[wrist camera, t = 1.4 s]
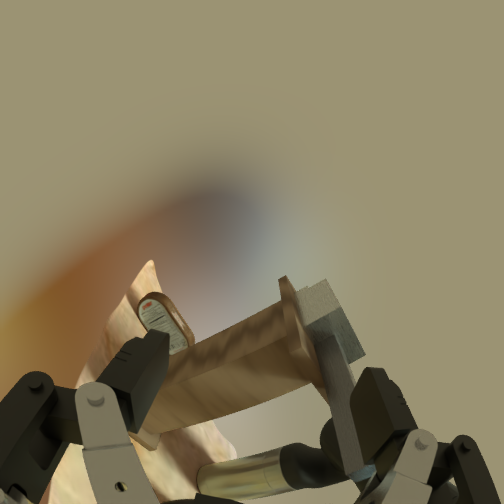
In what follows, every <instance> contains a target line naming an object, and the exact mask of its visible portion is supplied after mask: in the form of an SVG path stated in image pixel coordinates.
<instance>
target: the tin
mask: <svg viewBox="0 0 504 504" xmlns="http://www.w3.org/2000/svg"><path fill="white" fill-rule="evenodd" d="M137 313H138V317H139V319H140V321H141V322H142V324H143V325H144V327H145V328H146V330H147V331H149V330H150V329H155V330H159V331H162V332H166V333H169V334H170V348H169V356H171V355H173V354H175V353H177V352H179V351H182V350H184V349H186V348H188V347H190V346H192V345H194V344H195V338H194V334H193V332H192V331H191V329H190V328H189V326H188V325H187V323H186V322H185V320H184V319H183V317H182V316H181V314H180V313H179V312H178V310H177V308H176V307H175V305H174V304H173V302H172V301H171V300H170V299H169V298H168V297H167V296H166V295H164V294H162V293H159V292H151V293H148V294H147V295H146V296H145V297H143V298H142V299H141V300H140V302H139V304H138V307H137Z"/></svg>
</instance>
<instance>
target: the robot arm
mask: <svg viewBox="0 0 504 504" xmlns="http://www.w3.org/2000/svg"><path fill="white" fill-rule="evenodd" d="M169 348H170V334H169V333H166V332H162V331H159V330H155V329H150V330H149V331H148V333H147V334H146V335H145V337H144V338H143V339H142V338H139V337H135V338H133V339H131V340H129V341H127V342H126V343H125V344H124V345H123V347H122V348H121V349H120V352H118V353H117V354H116V356H115V358H113V359H112V361H111V362H110V363H109V365H108V366H107V367H106V368H105V370H104V371H103V372H102V374H101V375H100V376H99V378H98V379H97V380H96V381H95V382H90V383H86V384H84V385H82V386H80V387H79V388H78V389H69V388H64V387H59V386H55V385H54V383H53V380H52V379H51V377H50V376H49V375H47V374H46V373H43V372H39V371H34V372H29V373H27V374H25V375H24V376H23V377H22V378H21V379H20V380H19V381H18V382H17V383H16V384H15V386H14V387H13V388H12V389H11V390H10V392H9V393H8V394H7V395H6V396H5V397H4V399H3V400H2V401H1V402H0V504H39V502H40V500H41V498H42V496H43V494H44V492H45V490H46V488H47V486H48V484H49V482H50V480H51V478H52V476H53V474H54V472H55V470H56V468H57V466H58V464H59V462H60V460H61V458H62V457H63V455H64V453H65V451H66V449H67V447H68V445H69V444H70V443H74V444H79V445H83V446H84V449H82V452H83V458H84V462H85V466H86V469H87V473H88V476H89V480H90V483H91V486H92V489H93V492H94V495H95V498H96V501H97V504H160V502H159V500H158V498H157V497H156V495H155V493H154V491H153V488H152V486H151V484H150V482H149V480H148V478H147V476H146V474H145V471H144V469H143V467H142V464H141V462H140V460H139V457H138V455H137V452H136V450H135V448H134V445H133V443H131V440H130V438H129V435H128V431H129V432H132V433H135V434H138V432H139V430H140V428H141V426H142V424H143V422H144V420H145V417H146V415H147V413H148V411H149V409H150V407H151V405H152V403H153V401H154V399H155V397H156V395H157V393H158V391H159V389H160V387H161V385H162V383H163V381H164V379H165V377H166V374H167V371H168V367H169ZM349 404H350V409H351V413H352V417H353V421H354V425H355V429H356V433H357V437H358V441H359V445H360V449H361V453H362V458H363V462H364V465H373V464H375V467H376V470H375V471H374V473H373V474H372V476H371V477H369V478H366V479H364V480H361V481H358V482H356V483H355V484H356V486H357V487H358V489H359V490H360V492H361V494H360V495H359V497H358V498H357V500H356V501H355V503H354V504H501V502H500V499H499V497H498V494H497V491H496V488H495V486H494V483H493V481H492V478H491V476H490V473H489V471H488V468H487V466H486V464H485V461H484V459H483V457H482V455H481V453H480V450H479V448H478V446H477V444H476V442H475V441H474V440H473V439H472V438H471V437H469V436H467V435H459V436H457V437H456V438H455V439H454V440H453V441H452V442H451V443H442V442H437V440H436V438H435V437H434V436H433V434H431V433H430V432H428V431H426V430H423V429H418V427H417V425H416V422H415V420H414V418H413V416H412V414H411V411H410V409H409V407H408V405H406V401H405V399H404V398H403V394H402V392H401V390H400V388H399V387H398V386H397V385H396V384H395V383H394V382H393V381H392V380H389V378H388V376H387V374H386V372H385V370H384V369H383V368H374V367H366V368H365V369H364V370H363V372H362V374H361V376H360V378H359V380H358V382H357V384H356V386H355V387H354V389H353V391H352V393H351V396H350V402H349ZM320 445H321V449H318V448H312V447H309V446H307V445H305V444H302V443H293V444H289V445H286V446H283V447H280V448H277V449H273V450H270V451H266V452H263V453H259V454H255V455H252V456H248V457H243V458H239V459H234V460H230V461H225V462H219V463H214V464H208V465H204V466H203V467H201V469H200V470H199V472H198V476H197V483H198V488H199V490H200V492H201V494H200V493H196V495H195V499H181V500H173V501H168V502H164V503H161V504H243V503H240V502H237V501H242V500H250V499H256V498H262V497H268V496H273V495H278V494H282V493H286V492H290V491H295V490H299V489H303V488H322V487H325V486H329V485H333V484H336V483H339V482H343V481H346V480H349V479H350V478H349V477H348V476H346V475H345V470H344V465H343V461H342V456H341V452H340V448H339V443H338V439H337V435H336V430H335V426H334V422H333V418H331V419H329V420H328V421H327V423H326V424H325V425H324V427H323V429H322V431H321V434H320ZM453 477H454V480H455V483H456V486H457V487H456V486H454V485H453V484H451V483H450V482H449V480H450V479H451V478H453Z"/></svg>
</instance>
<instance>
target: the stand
mask: <svg viewBox="0 0 504 504" xmlns="http://www.w3.org/2000/svg"><path fill="white" fill-rule="evenodd" d="M278 281H279V287H280V293H281V301H279V302H277V303H275V304H273V305H271V306H269V307H268V308H266V309H264V310H262V311H260V312H258V313H256V314H255V315H252V316H250V317H249V318H247V319H245V320H243V321H241V322H239V323H237V324H235V325H233V326H231V327H229V328H227V329H225V330H223V331H221V332H219V333H217V334H215V335H213V336H211V337H209V338H207V339H205V340H203V341H201V342H198V343H196V344H194V345H192V346H190V347H188V348H186V349H184V350H182V351H179V352H177V353H175V354H173V355H171V356H169V367H168V371H167V374H166V377H165V379H164V381H163V383H162V385H161V387H160V389H159V391H158V393H157V395H156V397H155V399H154V401H153V403H152V405H151V407H150V409H149V411H148V413H147V415H146V417H145V420H144V422H143V424H142V426H141V428H140V430H139V432H138V434H135V433H132V432H129V431H128V435H129V436H130V437H132V438H133V439H134V440H135V441H137V442H138V443H139V444H141V445H142V446H144V447H145V448H146V449H148V450H149V451H154V450H156V449H157V446H158V443H159V439H160V436H161V433H162V432H167V431H171V430H175V429H179V428H183V427H187V426H191V425H195V424H199V423H202V422H206V421H209V420H213V419H216V418H219V417H223V416H226V415H229V414H232V413H235V412H238V411H241V410H244V409H247V408H249V407H252V406H255V405H258V404H261V403H263V402H266V401H269V400H271V399H274V398H276V397H279V396H281V395H284V394H286V393H289V392H291V391H293V390H296V389H298V388H300V387H302V386H305V385H307V384H309V383H312V384H313V385H314V386H315V388H316V389H317V390H318V392H319V393H320V394H321V396H322V397H323V398H324V399H325V401H326V402H327V403H328V404H329V402H328V398H327V394H326V390H325V386H324V382H323V378H322V374H321V371H320V367H319V363H318V359H317V356H316V352H315V348H314V345H313V343H312V342H311V340H310V339H309V337H308V336H307V334H306V333H305V331H304V329H303V328H302V325H301V321H300V316H299V312H298V308H297V304H296V300H295V296H294V293H295V292H296V290H295V289H294V287H293V286H292V284H291V283H290V281H289V279H288V278H287V276H286V275H285V276H284V277H282V278H280V279H278Z"/></svg>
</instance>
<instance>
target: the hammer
mask: <svg viewBox="0 0 504 504" xmlns="http://www.w3.org/2000/svg"><path fill="white" fill-rule="evenodd" d="M294 296H295V300H296V304H297V308H298V312H299V316H300V321H301V325H302V328H303V329H304V331H305V333H306V334H307V336H308V337H309V339H310V340H311V342H312V343H313V345H314V348H315V352H316V356H317V359H318V363H319V367H320V371H321V374H322V378H323V382H324V386H325V390H326V394H327V398H328V402H329V406H330V409H331V414H332V418H333V422H334V426H335V430H336V435H337V439H338V443H339V448H340V452H341V456H342V461H343V465H344V470H345V475H346V476H348V477H349V478H350V479H351V480H353V481H354V482H355V483H356V482H358V481H361V480H364V479H366V478H369V477H371V476H372V474H373V473H374V471H375V470H376V467H375V464H373V465H364V462H363V458H362V453H361V449H360V445H359V441H358V437H357V433H356V429H355V425H354V421H353V417H352V413H351V409H350V404H349V402H350V396H351V393H352V391H353V389H354V387H355V386H356V381H355V379H354V376H353V374H352V371H351V369H350V366H349V364H350V363H352V362H354V361H356V360H358V359H359V358H361V357H363V356H365V355H366V354H365V352H364V350H363V348H362V346H361V344H360V342H359V340H358V338H357V336H356V334H355V332H354V331H353V329H352V327H351V325H350V323H349V321H348V319H347V317H346V315H345V313H344V311H343V309H342V308H341V306H340V304H339V302H338V300H337V298H336V296H335V294H334V293H333V291H332V289H331V287H330V285H329V283H328V282H327V280H326V279H324V280H322V281H320V282H319V283H317V284H315V285H314V286H312V287H310V288H308V286H306V287H304V288H302V289H301V290H299V291H297V292H295V293H294Z"/></svg>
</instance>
